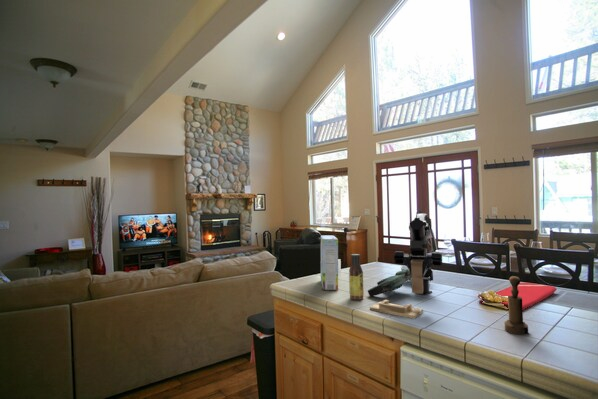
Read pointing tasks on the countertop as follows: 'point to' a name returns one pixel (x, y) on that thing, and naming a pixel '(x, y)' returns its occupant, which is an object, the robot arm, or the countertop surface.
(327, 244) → the snack box
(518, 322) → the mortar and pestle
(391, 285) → the teal curved piece
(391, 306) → the oak base board
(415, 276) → the walnut board piece
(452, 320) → the countertop surface
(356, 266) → the sauce bottle
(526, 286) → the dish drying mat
